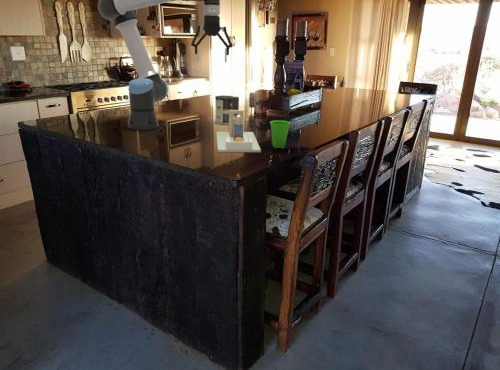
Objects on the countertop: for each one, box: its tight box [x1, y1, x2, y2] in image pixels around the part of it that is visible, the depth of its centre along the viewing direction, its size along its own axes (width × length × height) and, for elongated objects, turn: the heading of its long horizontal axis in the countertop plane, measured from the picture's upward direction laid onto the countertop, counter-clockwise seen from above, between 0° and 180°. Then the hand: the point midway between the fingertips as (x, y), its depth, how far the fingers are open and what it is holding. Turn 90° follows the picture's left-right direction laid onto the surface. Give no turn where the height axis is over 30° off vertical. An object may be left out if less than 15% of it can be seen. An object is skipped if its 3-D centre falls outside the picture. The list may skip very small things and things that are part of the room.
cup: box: [269, 120, 291, 149], centre depth 172 cm, size 9×9×11 cm
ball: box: [234, 137, 243, 142], centre depth 169 cm, size 4×4×4 cm
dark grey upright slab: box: [232, 96, 244, 142], centre depth 180 cm, size 4×25×16 cm, turn 6°
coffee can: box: [214, 95, 234, 125], centre depth 216 cm, size 10×10×14 cm
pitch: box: [215, 109, 262, 153], centre depth 177 cm, size 18×32×13 cm, turn 6°
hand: (211, 61), depth 195 cm, fingers open, 13 cm apart
